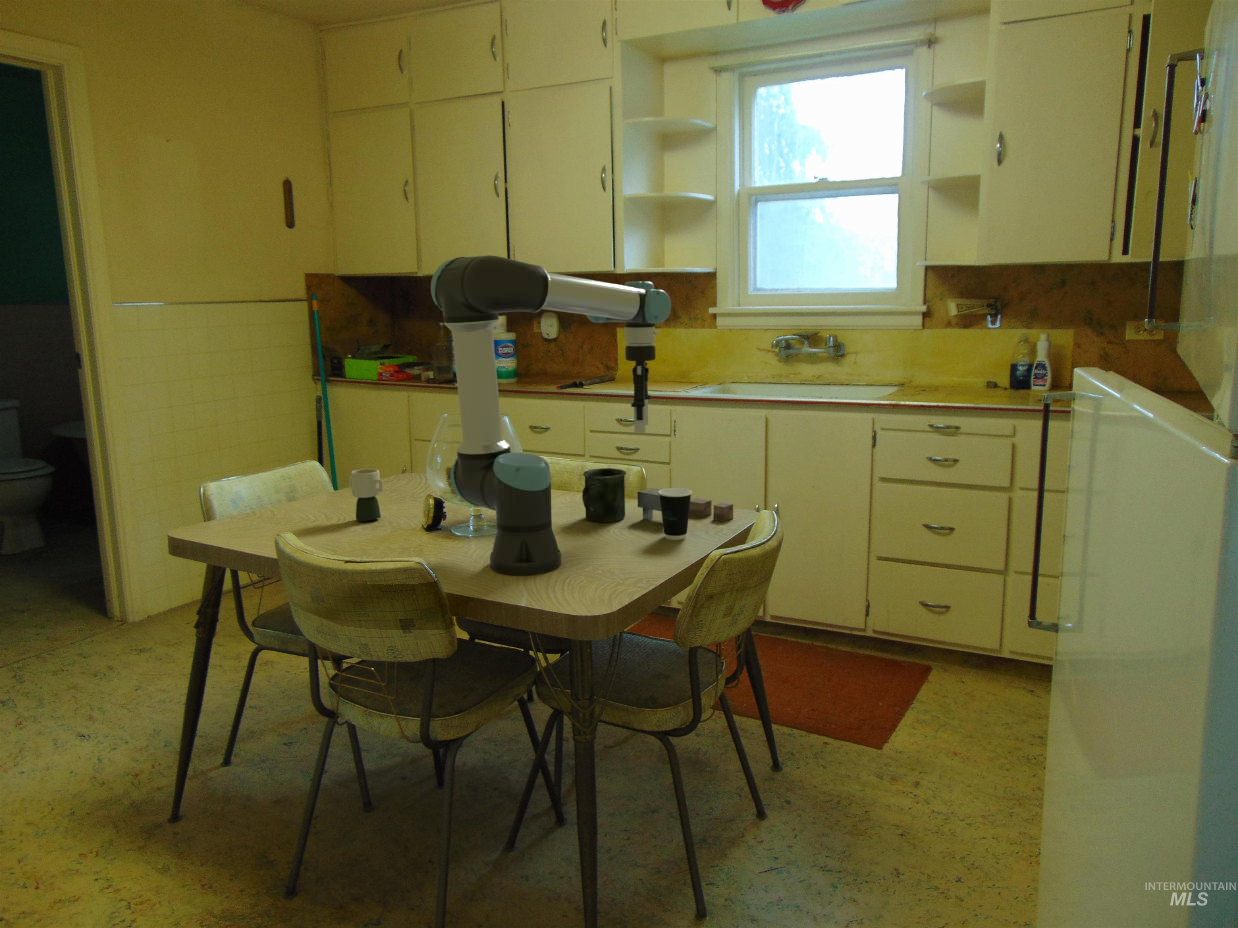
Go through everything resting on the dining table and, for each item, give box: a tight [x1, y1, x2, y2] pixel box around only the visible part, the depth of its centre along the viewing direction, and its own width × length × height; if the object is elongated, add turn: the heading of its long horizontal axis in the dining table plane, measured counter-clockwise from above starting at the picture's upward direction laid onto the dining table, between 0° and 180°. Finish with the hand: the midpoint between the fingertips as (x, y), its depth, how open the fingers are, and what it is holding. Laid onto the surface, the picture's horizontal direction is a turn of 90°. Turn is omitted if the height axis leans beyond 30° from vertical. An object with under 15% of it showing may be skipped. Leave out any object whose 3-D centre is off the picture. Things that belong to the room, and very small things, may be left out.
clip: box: [637, 487, 663, 521], centre depth 225 cm, size 10×6×8 cm, turn 49°
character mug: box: [348, 468, 384, 522], centre depth 231 cm, size 11×7×13 cm, turn 64°
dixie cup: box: [658, 487, 693, 541], centre depth 210 cm, size 8×8×11 cm
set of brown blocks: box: [689, 497, 734, 522], centre depth 231 cm, size 4×18×4 cm, turn 49°
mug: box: [581, 467, 627, 523], centre depth 227 cm, size 11×15×12 cm
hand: (641, 429), depth 227 cm, fingers open, 13 cm apart
